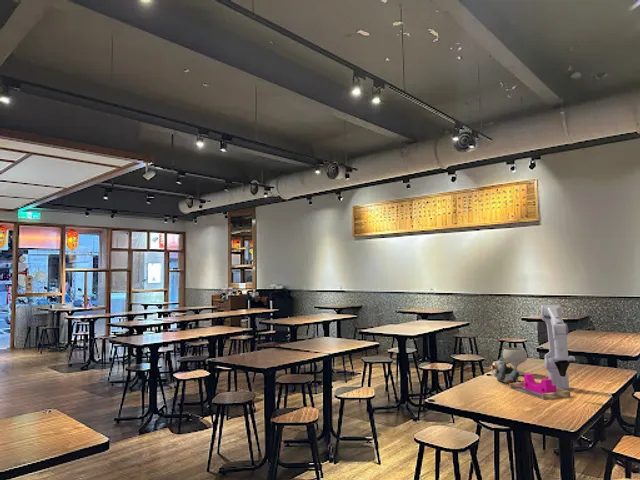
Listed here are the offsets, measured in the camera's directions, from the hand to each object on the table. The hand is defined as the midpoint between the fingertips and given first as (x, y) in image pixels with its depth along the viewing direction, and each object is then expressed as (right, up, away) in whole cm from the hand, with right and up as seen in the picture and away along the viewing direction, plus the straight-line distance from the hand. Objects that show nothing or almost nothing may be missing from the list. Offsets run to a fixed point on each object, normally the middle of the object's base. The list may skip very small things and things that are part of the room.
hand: (562, 376), depth 220 cm
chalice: (+1, -15, +54) cm, 56 cm away
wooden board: (-6, -11, +11) cm, 17 cm away
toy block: (-6, -12, +11) cm, 17 cm away
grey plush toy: (-14, -14, +34) cm, 39 cm away
